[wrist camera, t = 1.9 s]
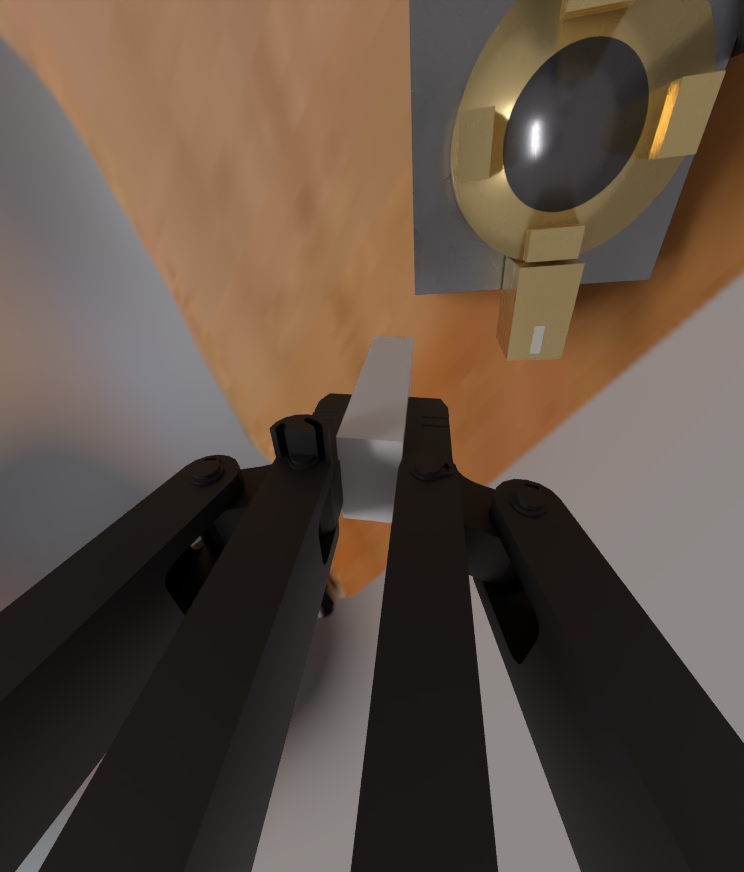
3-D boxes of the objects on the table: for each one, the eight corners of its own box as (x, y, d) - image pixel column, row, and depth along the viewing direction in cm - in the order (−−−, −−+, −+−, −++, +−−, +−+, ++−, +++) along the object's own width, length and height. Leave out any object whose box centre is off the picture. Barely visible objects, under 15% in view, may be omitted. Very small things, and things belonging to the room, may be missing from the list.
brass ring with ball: (454, 10, 15) (461, -40, 12) (714, -44, 13) (807, -119, 10) (444, 338, 24) (446, 362, 20) (599, 331, 22) (628, 357, 19)
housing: (411, -17, 17) (402, -118, 11) (799, -103, 14) (1044, -295, 8) (416, 284, 25) (412, 312, 19) (661, 267, 22) (738, 294, 17)
